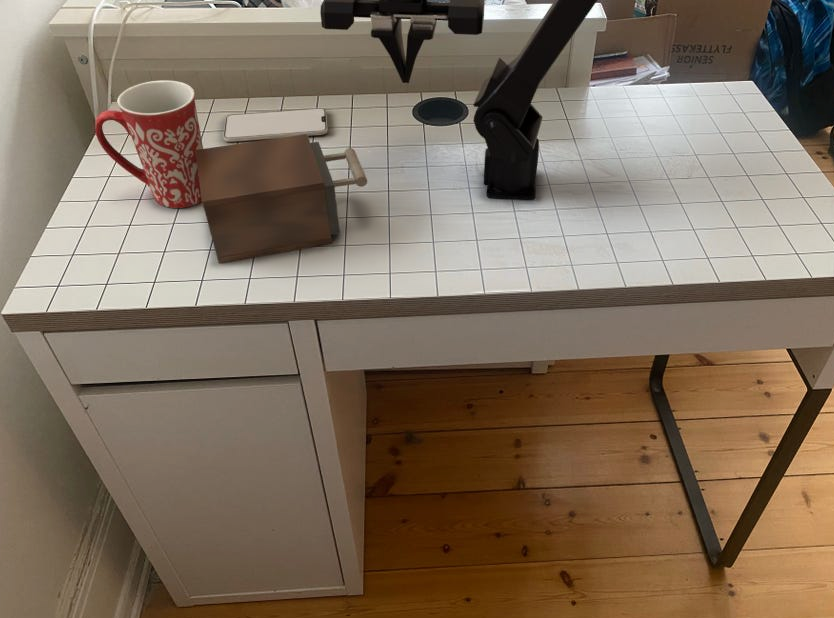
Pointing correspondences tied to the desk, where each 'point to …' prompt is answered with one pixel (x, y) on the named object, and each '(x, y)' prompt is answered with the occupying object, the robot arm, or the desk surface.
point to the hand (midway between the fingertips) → (406, 81)
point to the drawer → (330, 185)
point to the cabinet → (263, 197)
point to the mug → (160, 139)
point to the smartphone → (275, 124)
